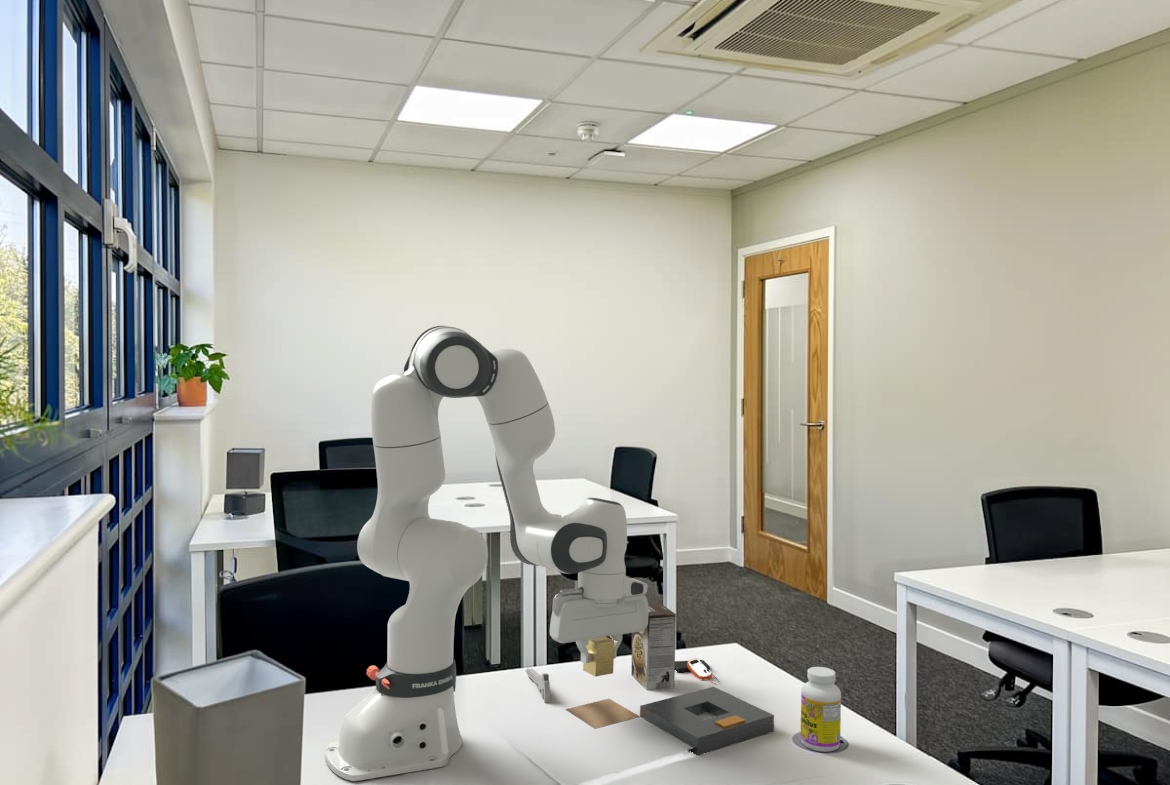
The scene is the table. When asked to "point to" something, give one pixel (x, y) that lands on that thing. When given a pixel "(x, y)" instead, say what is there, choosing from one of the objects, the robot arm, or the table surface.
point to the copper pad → (602, 713)
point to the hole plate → (714, 733)
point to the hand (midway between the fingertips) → (598, 660)
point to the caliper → (541, 683)
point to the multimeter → (695, 668)
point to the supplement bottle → (820, 710)
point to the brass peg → (600, 656)
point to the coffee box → (655, 649)
